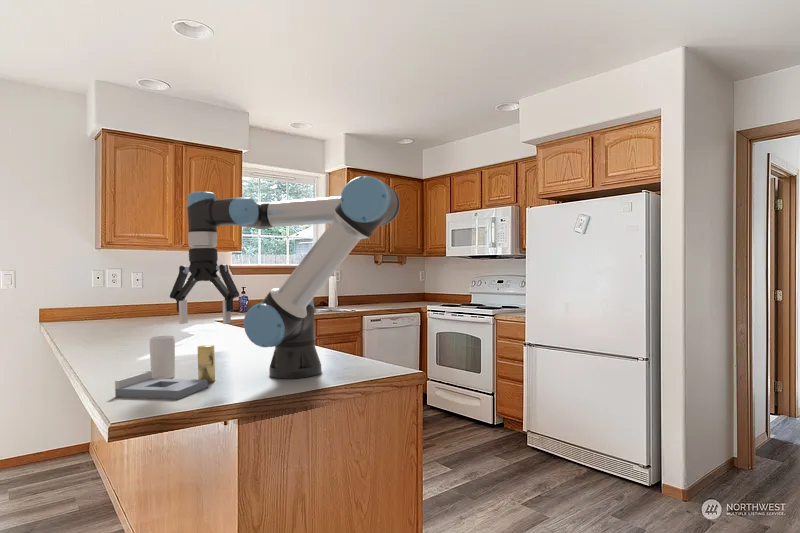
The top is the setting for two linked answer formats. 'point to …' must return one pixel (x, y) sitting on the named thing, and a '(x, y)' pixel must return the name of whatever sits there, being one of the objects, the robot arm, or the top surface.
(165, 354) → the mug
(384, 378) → the top surface
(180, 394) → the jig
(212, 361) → the gold rectangular block
